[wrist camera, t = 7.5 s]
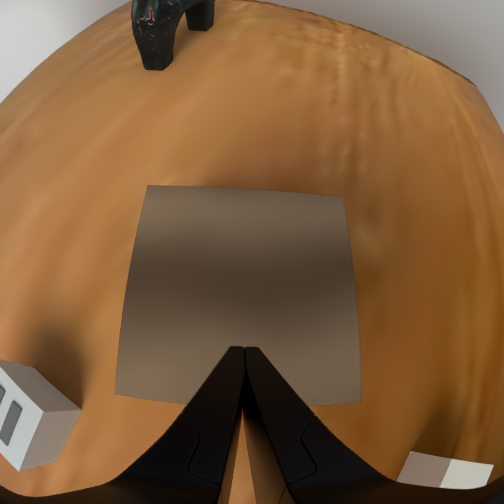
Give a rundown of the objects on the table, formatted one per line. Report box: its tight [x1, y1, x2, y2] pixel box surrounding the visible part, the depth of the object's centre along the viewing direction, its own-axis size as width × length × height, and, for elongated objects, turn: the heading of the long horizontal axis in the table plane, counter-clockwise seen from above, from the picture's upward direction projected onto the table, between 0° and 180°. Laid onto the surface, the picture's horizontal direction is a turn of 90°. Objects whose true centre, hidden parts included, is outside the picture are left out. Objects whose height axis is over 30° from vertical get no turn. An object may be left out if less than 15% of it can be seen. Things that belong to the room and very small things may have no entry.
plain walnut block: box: [115, 185, 361, 406], centre depth 16 cm, size 10×10×8 cm
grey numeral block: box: [0, 359, 82, 472], centre depth 13 cm, size 5×5×5 cm
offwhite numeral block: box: [396, 451, 494, 489], centre depth 12 cm, size 5×5×5 cm
